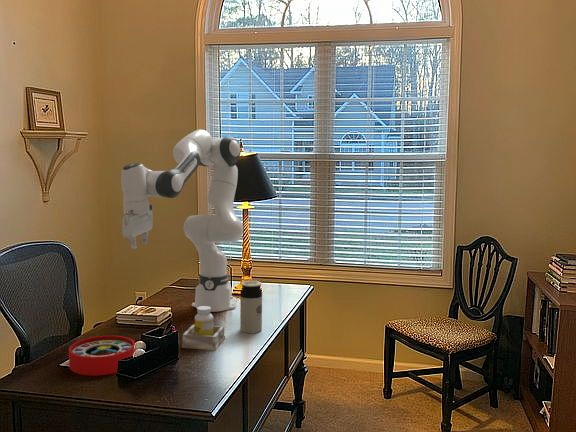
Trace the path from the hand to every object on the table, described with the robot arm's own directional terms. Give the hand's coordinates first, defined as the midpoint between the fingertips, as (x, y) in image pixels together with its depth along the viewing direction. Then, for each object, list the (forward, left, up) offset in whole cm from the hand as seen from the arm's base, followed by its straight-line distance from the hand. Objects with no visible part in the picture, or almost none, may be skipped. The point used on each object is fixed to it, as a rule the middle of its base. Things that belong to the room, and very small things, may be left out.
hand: (139, 246), depth 218 cm
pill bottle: (+10, +27, -31) cm, 42 cm away
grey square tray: (+10, +27, -31) cm, 43 cm away
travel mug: (-7, +40, -32) cm, 52 cm away
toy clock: (+34, +2, -32) cm, 47 cm away
